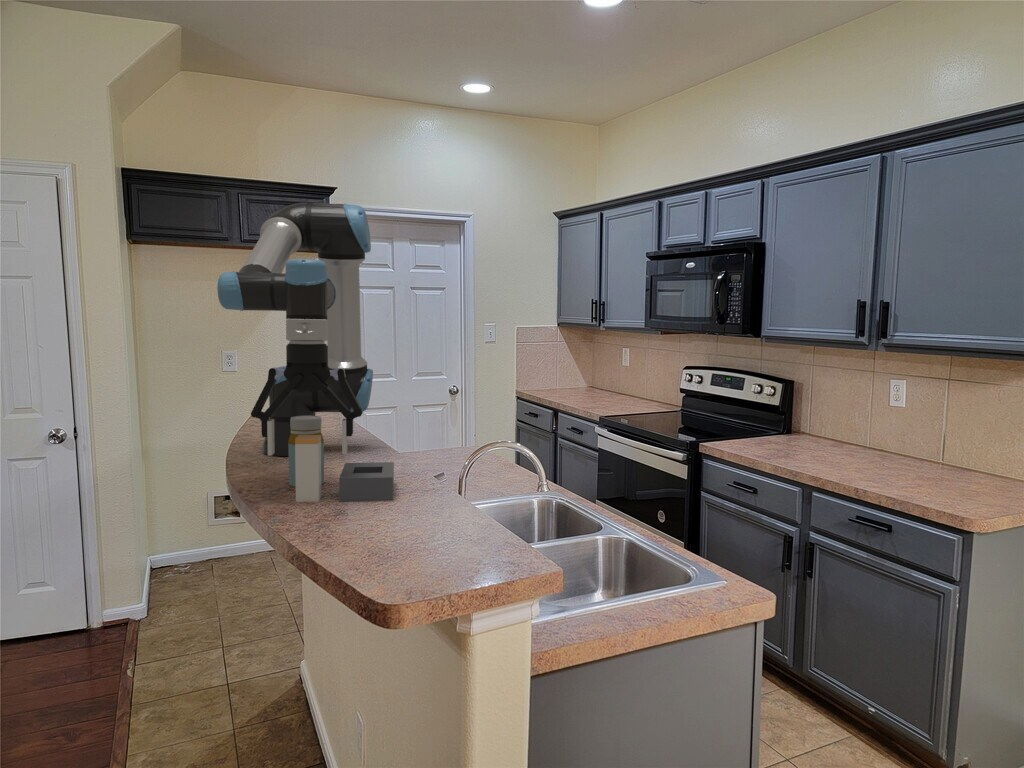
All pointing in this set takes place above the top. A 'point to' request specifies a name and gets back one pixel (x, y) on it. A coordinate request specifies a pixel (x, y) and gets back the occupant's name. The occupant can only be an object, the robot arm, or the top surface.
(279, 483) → the top surface
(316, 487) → the plug
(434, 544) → the top surface
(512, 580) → the top surface
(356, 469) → the gray socket block
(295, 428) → the bottle
